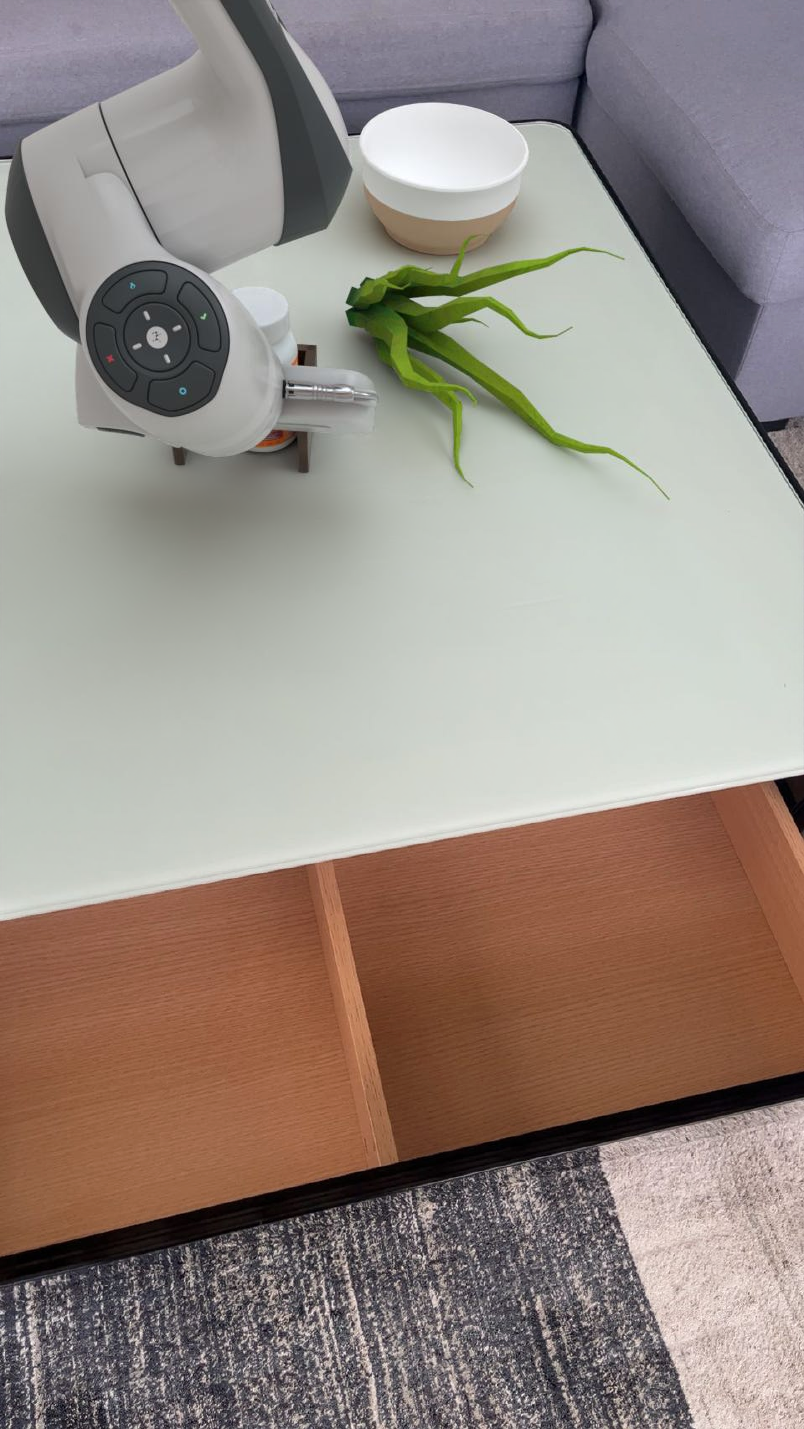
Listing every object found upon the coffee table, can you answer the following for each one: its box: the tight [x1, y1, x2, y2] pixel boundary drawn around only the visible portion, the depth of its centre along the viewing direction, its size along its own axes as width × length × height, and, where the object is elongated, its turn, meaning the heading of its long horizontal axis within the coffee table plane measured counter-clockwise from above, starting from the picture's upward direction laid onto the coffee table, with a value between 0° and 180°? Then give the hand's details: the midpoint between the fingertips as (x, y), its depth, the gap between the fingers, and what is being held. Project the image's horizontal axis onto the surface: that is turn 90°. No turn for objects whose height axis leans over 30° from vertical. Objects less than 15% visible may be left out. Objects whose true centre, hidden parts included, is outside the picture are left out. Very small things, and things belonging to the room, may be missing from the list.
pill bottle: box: [230, 285, 298, 453], centre depth 82 cm, size 6×6×11 cm
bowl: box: [358, 102, 530, 256], centre depth 102 cm, size 16×16×8 cm
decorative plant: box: [344, 234, 670, 501], centre depth 83 cm, size 18×30×15 cm, turn 18°
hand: (244, 409), depth 81 cm, fingers closed
